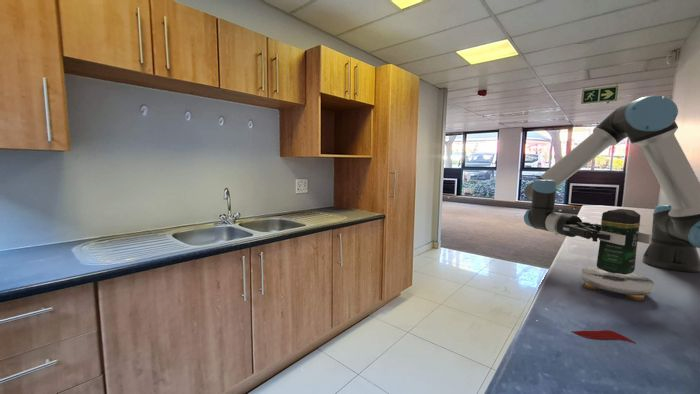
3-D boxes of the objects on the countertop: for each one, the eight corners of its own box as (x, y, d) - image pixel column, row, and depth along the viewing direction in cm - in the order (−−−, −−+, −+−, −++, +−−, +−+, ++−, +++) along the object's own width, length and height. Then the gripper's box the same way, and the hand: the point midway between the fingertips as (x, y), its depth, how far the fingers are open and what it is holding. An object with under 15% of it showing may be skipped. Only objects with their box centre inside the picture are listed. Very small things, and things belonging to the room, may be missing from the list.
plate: (608, 278, 97) (609, 265, 97) (668, 299, 81) (669, 284, 81) (567, 282, 94) (568, 268, 94) (621, 304, 79) (623, 288, 78)
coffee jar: (627, 277, 81) (634, 212, 80) (592, 269, 88) (598, 208, 86) (638, 271, 87) (645, 209, 85) (604, 264, 93) (610, 206, 91)
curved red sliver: (635, 341, 62) (636, 333, 62) (643, 353, 58) (644, 344, 58) (566, 325, 69) (567, 318, 69) (568, 335, 65) (569, 327, 65)
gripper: (588, 233, 106) (665, 251, 84) (537, 236, 102) (604, 254, 80) (589, 213, 105) (668, 225, 83) (539, 214, 102) (607, 227, 79)
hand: (637, 239), depth 82 cm, fingers closed on coffee jar, 8 cm apart
